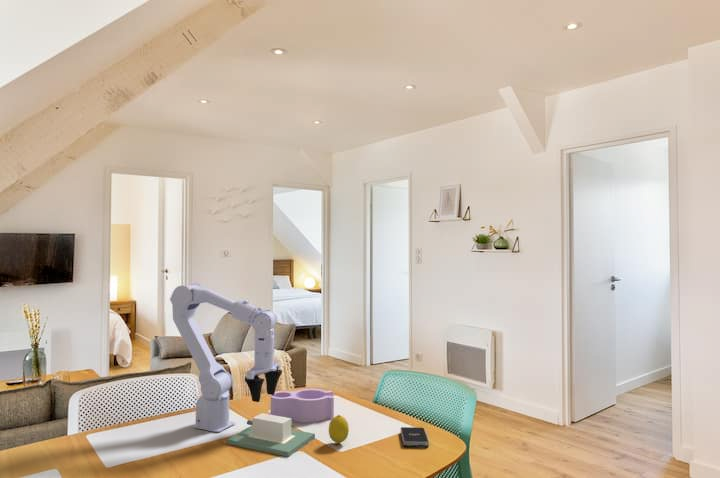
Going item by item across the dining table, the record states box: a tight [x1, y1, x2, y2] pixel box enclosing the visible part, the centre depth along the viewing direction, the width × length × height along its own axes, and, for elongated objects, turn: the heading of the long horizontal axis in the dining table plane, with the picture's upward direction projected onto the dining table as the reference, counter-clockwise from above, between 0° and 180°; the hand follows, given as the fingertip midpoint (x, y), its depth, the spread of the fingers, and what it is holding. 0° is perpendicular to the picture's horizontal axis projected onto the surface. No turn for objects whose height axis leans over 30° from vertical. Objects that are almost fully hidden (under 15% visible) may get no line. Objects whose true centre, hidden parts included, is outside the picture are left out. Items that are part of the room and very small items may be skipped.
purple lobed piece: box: [269, 388, 335, 423], centre depth 159 cm, size 20×12×7 cm, turn 95°
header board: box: [226, 425, 316, 458], centre depth 138 cm, size 20×14×4 cm
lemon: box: [328, 414, 350, 445], centre depth 136 cm, size 6×6×8 cm
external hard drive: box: [400, 426, 430, 449], centre depth 140 cm, size 7×11×2 cm, turn 0°
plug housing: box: [246, 412, 292, 442], centre depth 138 cm, size 13×4×5 cm, turn 66°
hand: (263, 397), depth 146 cm, fingers open, 7 cm apart
